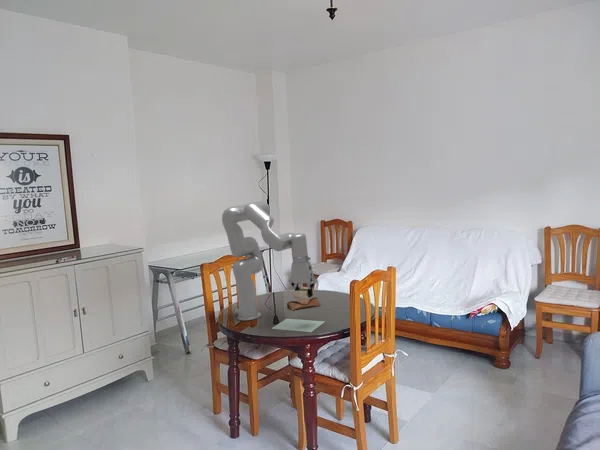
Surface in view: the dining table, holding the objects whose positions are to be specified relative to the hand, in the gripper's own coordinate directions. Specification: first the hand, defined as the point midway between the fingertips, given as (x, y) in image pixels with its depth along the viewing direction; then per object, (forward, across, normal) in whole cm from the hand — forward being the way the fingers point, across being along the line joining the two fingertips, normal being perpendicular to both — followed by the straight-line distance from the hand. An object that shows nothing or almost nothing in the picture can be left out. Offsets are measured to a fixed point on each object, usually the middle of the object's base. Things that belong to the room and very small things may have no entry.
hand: (304, 296), depth 221 cm
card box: (0, 0, 0) cm, 0 cm away
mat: (+15, +5, 0) cm, 16 cm away
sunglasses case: (+16, +17, -29) cm, 37 cm away
